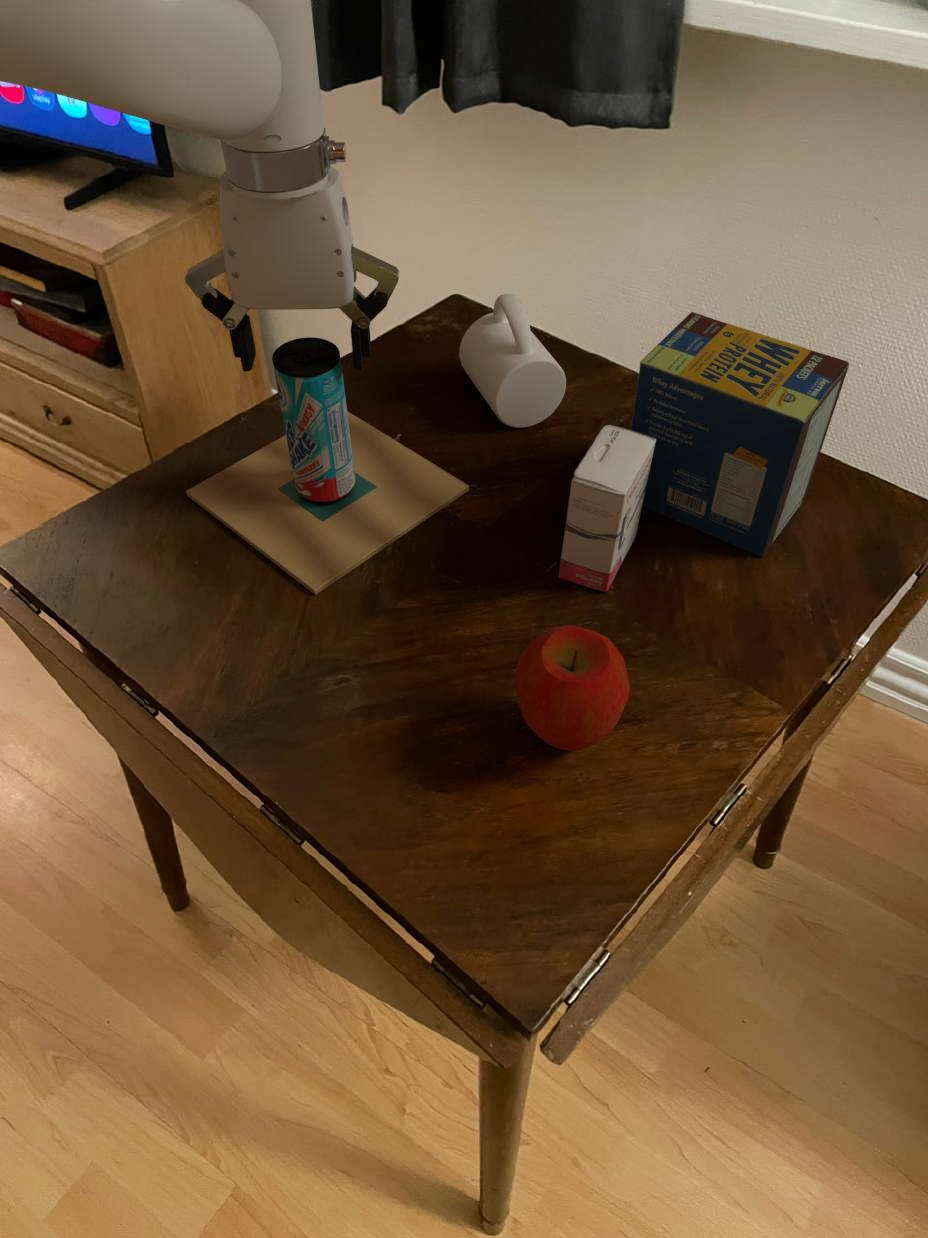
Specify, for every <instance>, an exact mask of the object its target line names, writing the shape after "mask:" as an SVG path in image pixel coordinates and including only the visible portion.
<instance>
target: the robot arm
mask: <svg viewBox="0 0 928 1238" xmlns="http://www.w3.org/2000/svg"><path fill="white" fill-rule="evenodd" d="M315 38H316V37H315V27H314V18H313V9H312V0H0V82H2V83H6V84H11V85H16V86H21V87H25V88H31V89H35V90H39V91H43V92H48V93H52V94H56V95H59V96H62V97H67V98H70V99H73V100H77V101H81V102H84V103H87V104H90V105H93V106H97V107H100V108H104V109H107V110H111V111H114V112H117V113H120V114H124V115H128V116H131V117H134V118H138V119H141V120H145V121H149V122H152V123H154V124H159V125H162V126H167V127H170V128H173V129H177V130H181V131H184V132H188V133H192V134H195V135H199V136H202V137H206V138H210V139H213V140H218V141H220V143H221V149H222V154H223V160H224V165H225V171H223V172H222V174H221V175H220V181H219V182H220V183H219V211H220V212H219V215H220V228H221V239H222V240H221V241H222V248H223V249H221V250H219V251H217V252H216V253H214V254H212V255H210V256H208V257H207V258H205V259H203V260H201V261H199V262H198V263H196V264H194V265H193V266H191V267H189V268H188V269H187V271H186V273H185V276H184V282H185V283H186V285H187V286H188V287H189V289H190V290H191V291H192V292H193V294H194V295H195V296H196V298H198V299H199V300H200V301H201V306H202V307H203V308H204V309H206V311H207V312H209V313H210V314H211V315H213V316H214V317H216V318H217V319H218V320H220V321H221V324H222V326H223V327H224V328H225V329H226V330H228V332H229V333H228V334H229V337H230V342H231V348H232V353H233V357H234V358H240V363H241V368H242V371H243V372H246V373H247V372H250V371H252V370H253V367H254V363H255V359H256V356H257V355H256V354H257V350H256V344H255V340H254V334H253V328H252V322H251V317H250V315H248V312H249V311H250V310H260V311H262V310H264V311H265V310H267V311H268V310H269V311H270V310H273V311H276V310H277V311H278V310H279V311H281V310H282V311H283V310H285V311H286V310H287V311H289V310H293V311H294V310H333V309H339V310H340V311H341V312H342V313H343V314H344V315H345V316H346V317H347V318H348V319H349V320H351V324H350V339H351V350H352V360H353V370H356V371H358V372H359V371H361V372H362V371H364V362H365V361H364V360H365V357H372V341H371V339H372V338H371V330H370V329H371V328H370V326H371V322H372V321H374V319H375V318H377V316H378V315H379V314H380V313H381V312H382V311H384V309H385V308H386V307H387V306H388V302H389V300H390V298H391V297H392V295H393V293H394V291H395V289H396V287H397V285H398V282H399V279H400V270H399V268H398V267H397V266H395V265H393V264H391V263H389V262H387V261H385V260H383V259H380V258H379V257H376V256H374V255H373V254H370V253H368V252H365V251H364V250H361V249H359V248H358V247H355V245H354V237H353V229H352V224H351V218H350V211H349V208H348V206H349V205H348V202H347V197H346V192H345V189H344V185H343V182H342V179H341V176H340V172H339V170H337V169H336V168H335V167H333V166H332V165H337V163H347V147H346V142H344V141H342V142H339V141H337V142H336V141H335V139H334V140H333V139H332V140H331V139H330V135H327V131H326V130H327V129H326V127H325V124H324V116H323V105H322V95H321V86H320V77H319V66H318V58H317V57H318V56H317V46H316V39H315ZM357 272H358V273H360V274H362V275H364V276H367V277H369V278H371V279H373V280H375V281H376V282H377V285H376V287H375V288H374V289H373V290H372V291H371V292H370V293H369V294H368V295H367V296H365V295H364V294H363V293H362V292H361V291H360V290H359V289H358V288H357V287H356V286H355V283H356V282H357V275H358V273H357ZM224 273H225V274H226V275H225V276H226V281H227V286H228V291H229V294H230V298H228V297H227V296H226V295H225V294H223V293H222V292H221V291H220V290H219V289H217V288H215V287H214V286H213V284H212V283H211V280H213V279H215V278H217V277H219V276H220V275H223V274H224Z"/></svg>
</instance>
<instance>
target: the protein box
mask: <svg viewBox="0 0 928 1238" xmlns="http://www.w3.org/2000/svg"><path fill="white" fill-rule="evenodd" d="M849 368H850V362H849V361H848V360H844V359H841V358H839V357H835V356H832V355H829V354H825V353H822V352H818V351H815V350H812V349H810V348H806V347H803V346H799V345H797V344H794V343H791V342H787V341H785V340H781V339H779V338H778V339H777V338H774V337H772V336H769V335H765V334H762V333H760V332H757V331H754V330H750V329H746V328H743V327H740V326H738V325H734V324H731V323H728V322H724V321H720V320H717V319H714V318H712V317H709V316H706V315H703V314H700V313H697V312H694V311H691V312H690V313H689V314H687V315H686V317H685V318H684V319H683V320H682V321H680V322H679V323H678V324H677V325H676V326H675V327H674V328H673V329H672V330H671V331H670V332H669V333H668V334H667V335H666V336H665V337H664V338H663V339H662V340H661V341H660V342H658V344H657V345H655V347H654V348H653V349H651V350H650V352H648V353H647V354H646V355H645V356H644V357H643V358H642V359H641V360H640V361H639V370H638V377H637V383H636V391H635V398H634V403H633V404H634V405H633V412H632V418H631V425H630V430H631V431H635V432H638V433H641V434H644V435H647V436H650V437H653V438H655V439H656V443H655V447H654V452H653V456H652V461H651V466H650V471H649V475H648V480H647V485H646V490H645V494H644V499H643V504H642V508H645V509H647V510H650V511H652V512H654V513H657V514H659V515H661V516H664V517H666V518H669V519H671V520H673V521H676V522H678V523H680V524H684V525H685V526H687V527H689V528H692V529H694V530H696V531H699V532H701V533H703V534H706V535H708V536H711V537H713V538H716V539H718V540H720V541H723V542H724V543H727V544H729V545H732V546H734V547H737V548H739V549H741V550H744V551H746V552H748V553H750V554H753V555H755V556H757V557H761V558H762V557H764V556H765V555H766V554H767V552H768V551H769V550H770V548H771V546H772V545H773V544H774V542H775V541H776V540H777V539H778V537H779V536H780V535H781V533H782V532H783V530H784V529H785V528H786V526H787V525H788V523H789V522H790V520H791V519H792V518H793V516H795V513H797V511H798V509H799V508H800V507H801V505H802V504H803V502H804V501H805V500H806V497H807V495H808V492H809V489H810V485H811V482H812V479H813V476H814V473H815V469H816V466H817V464H818V460H819V457H820V455H821V451H822V449H823V445H824V443H825V439H826V436H827V433H828V430H829V428H830V424H831V420H832V419H833V415H834V412H835V409H836V406H837V403H838V401H839V398H840V394H841V391H842V388H843V386H844V384H845V383H844V382H845V379H846V376H847V374H848V371H849Z"/></svg>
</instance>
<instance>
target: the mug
mask: <svg viewBox="0 0 928 1238" xmlns="http://www.w3.org/2000/svg"><path fill="white" fill-rule="evenodd" d="M526 310H527V309H526V307H525V305H524V303H523V302H522V300H521V299H520V298H519V297H517V296H516V295H515V294H512V293H503V294H500V295H499V296H497V298H496V299H495V301H494V305H493V312H489V313H487V314H484V315H482V316H481V317H479V318H478V319H476V320H474V322H473V323H472V324H471V325H470V326H469V327H468V328H467V330H466V331H465V332H464V335H463V337H462V339H461V341H460V344H459V350H458V356H459V361H460V364H461V367H462V369H463V370H464V372H465V373H466V374H467V376H468V377H469V379H470V380H471V382H472V383H473V385H474V386H475V388H476V389H477V390H478V391H479V393H480V394H481V396H482V397H483V399H484V400H485V401H486V403H487V405H488V406H489V407H490V409H491V410H492V412H493V413H494V415H495V416H496V417H497V419H498V420H499V422H501V423H503V424H504V425H506V426H508V427H511V428H516V429H523V428H529V427H532V426H536V425H538V424H539V423H542V422H543V421H545V420H546V419H548V418H549V417H550V416H551V415H552V414H553V413H554V412H555V411H556V409H557V408H559V406H560V404H561V403H562V401H563V398H564V396H565V393H566V389H567V388H566V387H567V378H566V374H565V371H564V370H563V368H562V367H561V366H560V364H559V363H558V362H557V360H556V359H555V358H554V357H553V356H552V354H551V353H550V352H549V350H547V349H546V347H545V346H544V344H543V343H542V342H541V341H540V340H539V338H538V337H537V335H535V334H534V333H533V331H532V330H531V325H530V320H529V317H528V313H527V311H526Z"/></svg>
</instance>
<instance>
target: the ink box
mask: <svg viewBox="0 0 928 1238" xmlns="http://www.w3.org/2000/svg"><path fill="white" fill-rule="evenodd" d="M655 443H656V439H655V438H653V437H650V436H647V435H644V434H641V433H638V432H635V431H631V429H628V428H624V427H620V426H616V425H613V424H607V425H604V426H603V427H601V429H600V431H599V433H598V434H597V435H596V437H595V439H594V440H593V442H592V443H591V445H590V446H589V447H588V449H587V451H586V453H585V455H584V456H583V458H582V459H581V460H580V462H579V463H578V465H577V466H576V469H575V470H574V472H573V477H572V479H571V485H570V491H569V498H568V504H567V505H568V506H567V511H566V519H565V527H564V534H563V535H564V536H563V541H562V548H561V556H560V563H559V570H558V578H559V579H561V580H564V581H567V582H570V583H573V584H576V585H580V586H582V587H586V588H589V589H591V590H595V591H599V592H603V593H607V592H608V591H609V589H610V587H611V585H612V583H613V582H614V580H615V578H616V576H617V574H618V572H619V569H620V568H621V566H622V563H623V562H624V560H625V558H626V557H627V554H628V552H629V550H630V549H631V547H632V544H633V543H634V541H635V539H636V536H637V532H638V527H639V523H640V517H641V513H642V508H643V506H642V504H643V499H644V494H645V490H646V485H647V480H648V475H649V471H650V466H651V461H652V456H653V452H654V447H655Z"/></svg>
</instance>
